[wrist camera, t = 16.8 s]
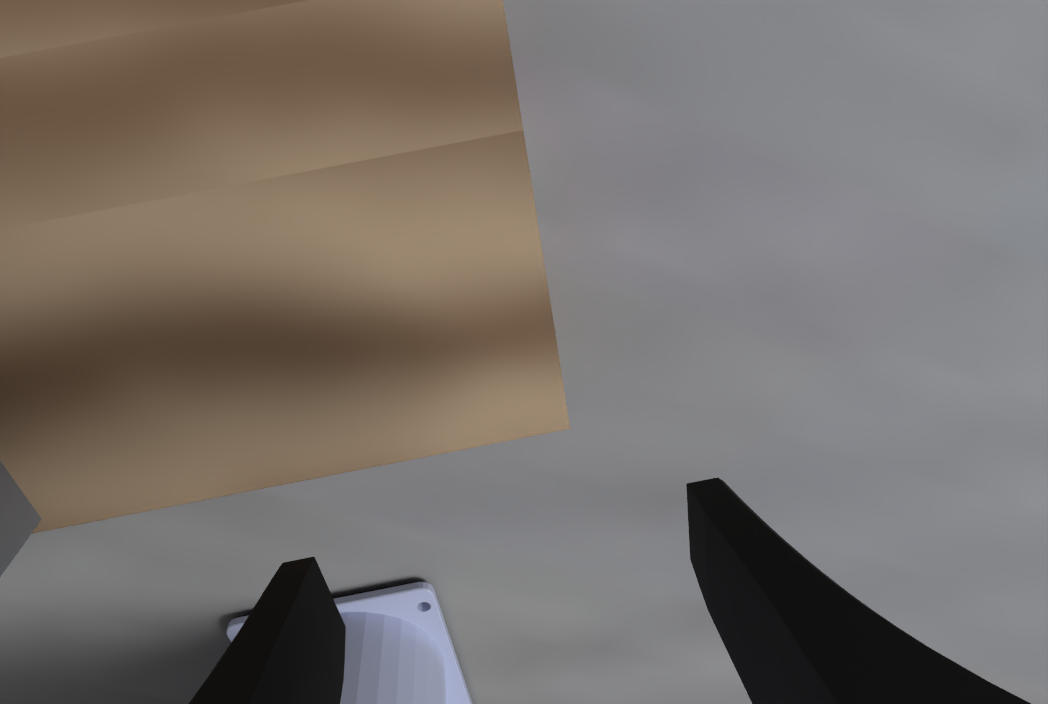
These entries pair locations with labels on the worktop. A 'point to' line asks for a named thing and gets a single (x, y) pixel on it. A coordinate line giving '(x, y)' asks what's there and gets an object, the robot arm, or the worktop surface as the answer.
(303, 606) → the robot arm
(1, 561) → the block
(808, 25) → the worktop surface
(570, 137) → the worktop surface
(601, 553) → the worktop surface
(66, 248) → the board
